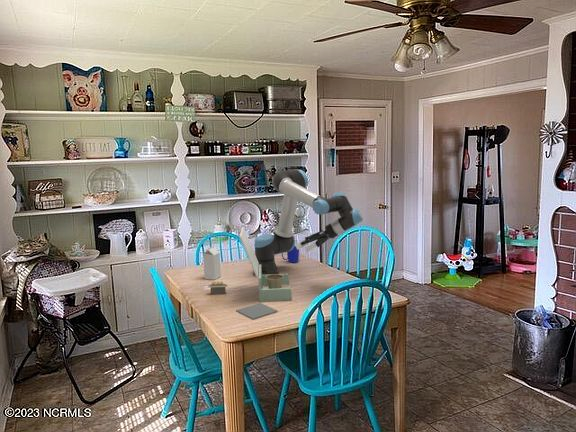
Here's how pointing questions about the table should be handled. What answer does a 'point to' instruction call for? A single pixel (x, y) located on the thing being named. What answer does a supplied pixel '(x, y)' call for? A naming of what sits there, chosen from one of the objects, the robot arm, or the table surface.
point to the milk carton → (212, 263)
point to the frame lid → (249, 251)
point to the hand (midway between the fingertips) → (301, 248)
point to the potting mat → (257, 311)
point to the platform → (218, 288)
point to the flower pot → (274, 281)
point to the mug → (292, 255)
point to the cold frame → (273, 294)
